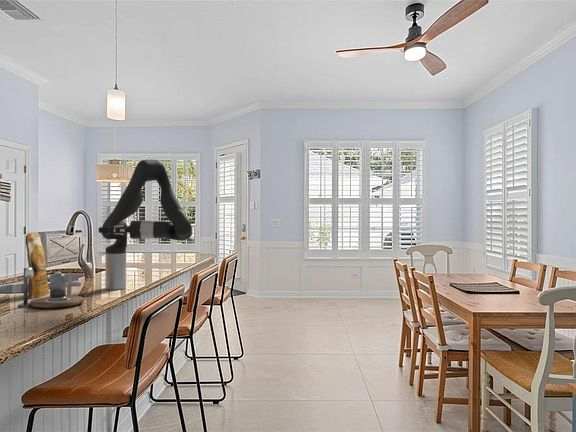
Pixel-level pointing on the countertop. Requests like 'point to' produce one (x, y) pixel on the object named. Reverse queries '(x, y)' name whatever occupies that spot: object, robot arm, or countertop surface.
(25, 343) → the countertop surface
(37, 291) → the pancake mix bag
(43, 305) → the disc
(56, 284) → the grey canister
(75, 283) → the pipe connector
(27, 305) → the dial stand
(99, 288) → the countertop surface
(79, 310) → the countertop surface
